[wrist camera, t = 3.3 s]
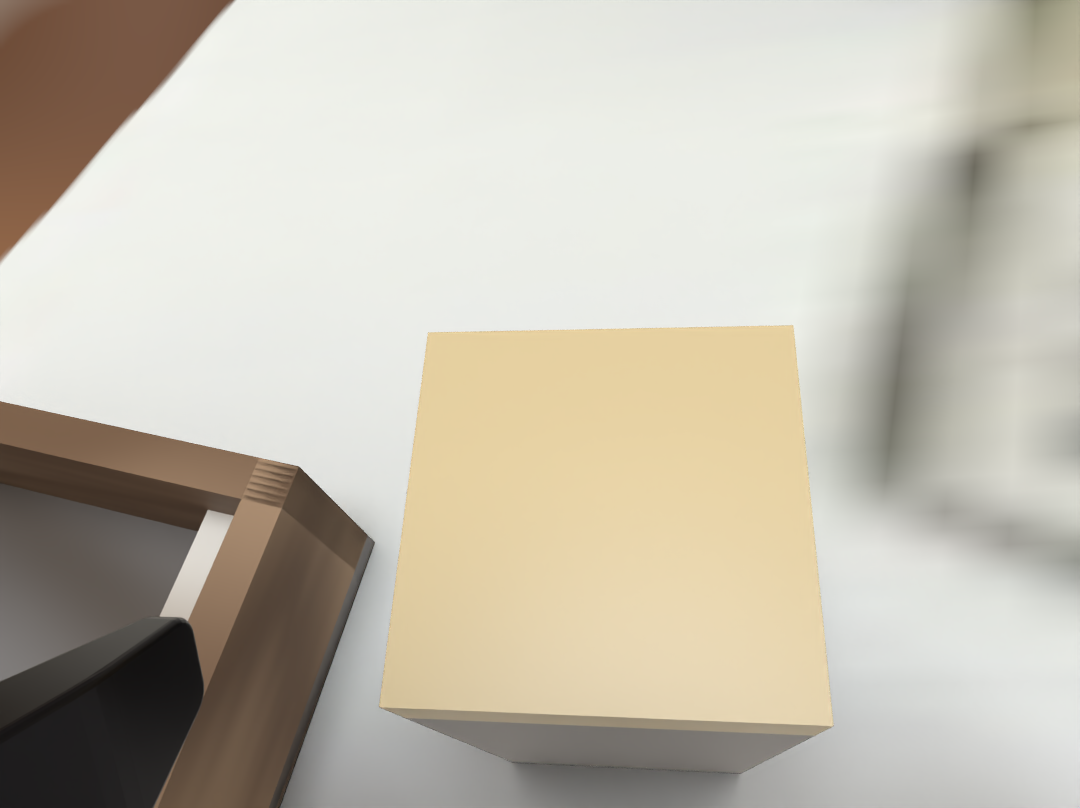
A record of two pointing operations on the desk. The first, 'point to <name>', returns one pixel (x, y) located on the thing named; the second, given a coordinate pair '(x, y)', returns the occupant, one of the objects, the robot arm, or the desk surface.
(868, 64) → the desk surface
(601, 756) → the tan lidded carton
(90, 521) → the walled box
